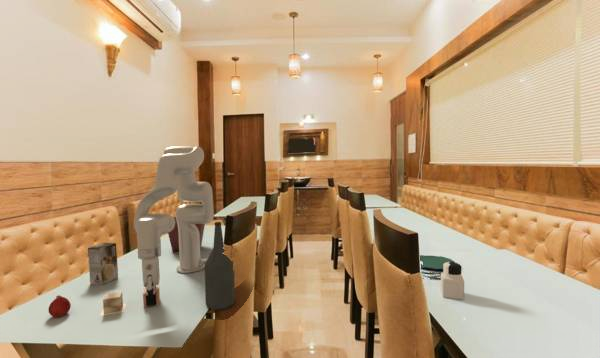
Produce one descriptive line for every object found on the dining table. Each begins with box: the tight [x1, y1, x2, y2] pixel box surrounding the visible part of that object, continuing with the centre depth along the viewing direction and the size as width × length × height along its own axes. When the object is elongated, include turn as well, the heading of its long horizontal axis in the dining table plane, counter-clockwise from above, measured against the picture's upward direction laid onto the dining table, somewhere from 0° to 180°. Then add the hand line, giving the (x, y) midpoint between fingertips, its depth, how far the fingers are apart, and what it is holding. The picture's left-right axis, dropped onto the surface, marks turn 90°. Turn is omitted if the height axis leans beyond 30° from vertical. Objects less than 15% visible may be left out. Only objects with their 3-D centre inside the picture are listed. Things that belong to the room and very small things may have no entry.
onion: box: [48, 294, 72, 318], centre depth 104 cm, size 6×6×8 cm
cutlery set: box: [419, 254, 456, 280], centre depth 145 cm, size 20×30×2 cm, turn 162°
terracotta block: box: [142, 285, 161, 308], centre depth 112 cm, size 5×5×6 cm
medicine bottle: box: [440, 261, 465, 300], centre depth 116 cm, size 7×7×12 cm
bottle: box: [203, 221, 236, 311], centre depth 112 cm, size 10×10×30 cm
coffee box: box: [87, 242, 119, 286], centre depth 137 cm, size 9×6×16 cm
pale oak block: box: [102, 291, 124, 314], centre depth 107 cm, size 5×5×5 cm
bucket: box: [167, 216, 206, 254], centre depth 186 cm, size 24×22×25 cm
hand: (151, 301), depth 112 cm, fingers closed on terracotta block, 5 cm apart
